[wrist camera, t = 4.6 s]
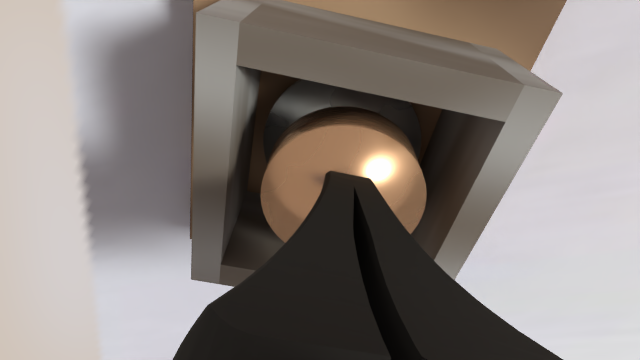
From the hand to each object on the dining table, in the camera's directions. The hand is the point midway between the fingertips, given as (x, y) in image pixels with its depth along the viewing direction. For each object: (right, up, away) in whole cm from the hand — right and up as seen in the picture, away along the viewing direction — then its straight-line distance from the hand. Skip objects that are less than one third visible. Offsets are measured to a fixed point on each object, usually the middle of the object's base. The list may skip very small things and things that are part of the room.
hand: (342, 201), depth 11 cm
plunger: (0, +2, +3) cm, 4 cm away
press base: (0, +3, +5) cm, 6 cm away
